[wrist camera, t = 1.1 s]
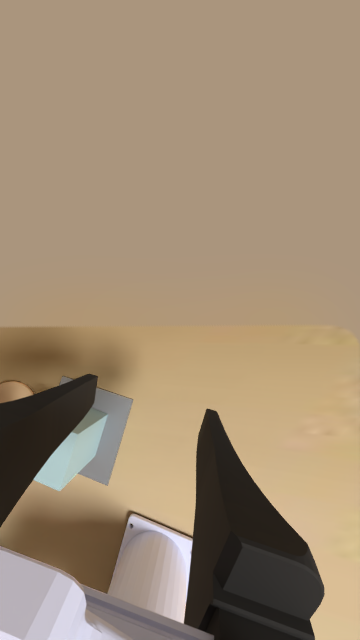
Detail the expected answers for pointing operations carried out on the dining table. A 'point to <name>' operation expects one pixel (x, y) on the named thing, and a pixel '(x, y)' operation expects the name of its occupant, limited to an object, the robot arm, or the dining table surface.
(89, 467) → the gray tile
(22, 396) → the cork coaster
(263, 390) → the dining table surface
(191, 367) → the dining table surface
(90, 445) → the block
